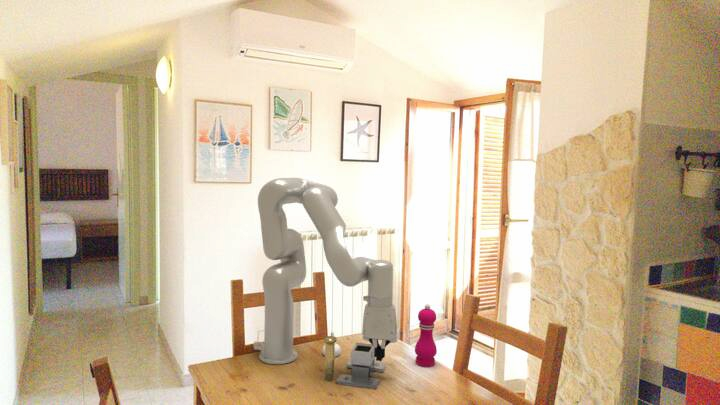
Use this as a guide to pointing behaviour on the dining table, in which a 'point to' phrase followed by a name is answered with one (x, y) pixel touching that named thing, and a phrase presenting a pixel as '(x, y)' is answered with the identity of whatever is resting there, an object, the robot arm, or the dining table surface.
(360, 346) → the square tube bracket
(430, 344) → the pepper mill
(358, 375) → the fixed leaf
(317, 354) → the dining table surface
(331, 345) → the hinge pin
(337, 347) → the garlic bulb
